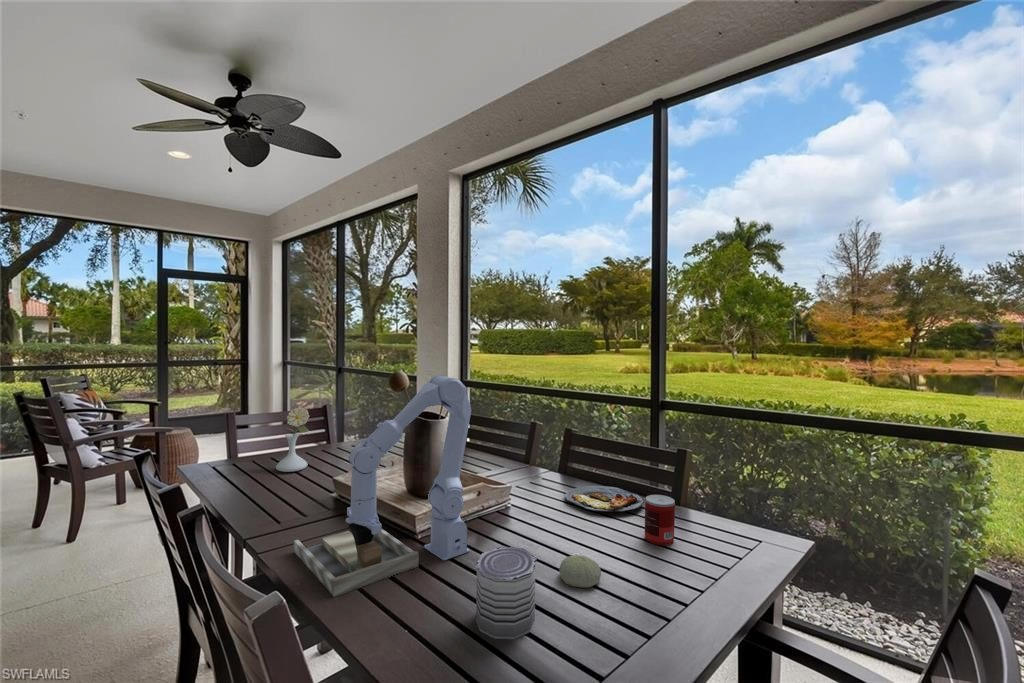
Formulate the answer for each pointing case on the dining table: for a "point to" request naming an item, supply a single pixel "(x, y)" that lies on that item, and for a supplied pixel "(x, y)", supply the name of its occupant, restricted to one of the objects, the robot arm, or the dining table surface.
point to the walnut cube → (369, 554)
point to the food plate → (604, 498)
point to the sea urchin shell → (580, 571)
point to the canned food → (659, 519)
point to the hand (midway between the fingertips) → (363, 554)
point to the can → (505, 592)
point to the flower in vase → (292, 459)
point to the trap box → (354, 561)
